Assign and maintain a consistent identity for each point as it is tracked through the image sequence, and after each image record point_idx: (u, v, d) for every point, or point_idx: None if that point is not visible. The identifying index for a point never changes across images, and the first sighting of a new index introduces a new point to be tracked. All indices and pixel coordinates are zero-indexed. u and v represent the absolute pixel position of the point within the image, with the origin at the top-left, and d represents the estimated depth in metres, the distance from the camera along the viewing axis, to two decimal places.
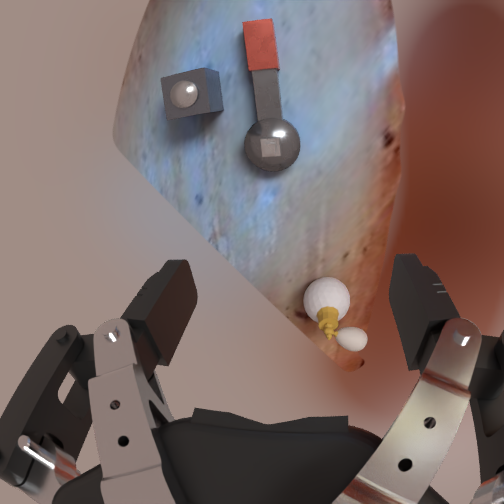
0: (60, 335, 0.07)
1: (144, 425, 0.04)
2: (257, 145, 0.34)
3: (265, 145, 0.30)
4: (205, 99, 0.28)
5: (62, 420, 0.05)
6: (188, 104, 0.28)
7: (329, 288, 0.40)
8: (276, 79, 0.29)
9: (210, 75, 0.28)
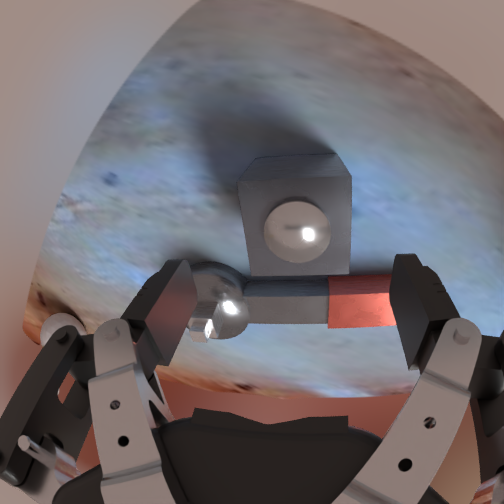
0: (60, 334, 0.07)
1: (144, 425, 0.04)
2: (204, 294, 0.23)
3: (201, 333, 0.21)
4: (279, 270, 0.16)
5: (62, 420, 0.05)
6: (270, 241, 0.14)
7: None
8: (309, 322, 0.23)
9: None
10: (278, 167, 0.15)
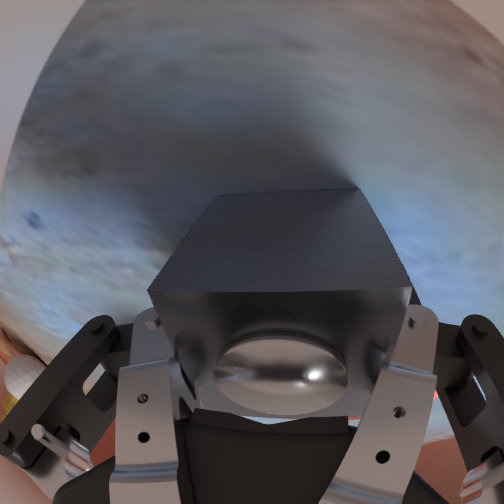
0: (95, 325, 0.07)
1: (169, 425, 0.04)
2: None
3: None
4: (249, 412, 0.08)
5: (83, 412, 0.06)
6: (228, 390, 0.07)
7: None
8: None
9: None
10: (248, 233, 0.08)
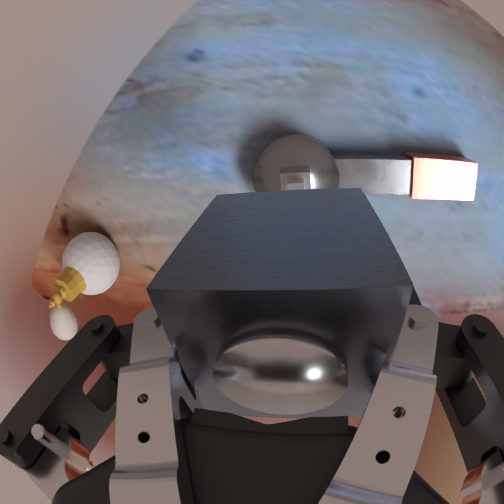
0: (95, 325, 0.07)
1: (169, 425, 0.04)
2: (295, 157, 0.21)
3: (301, 185, 0.19)
4: (249, 411, 0.08)
5: (83, 412, 0.06)
6: (228, 390, 0.07)
7: (105, 271, 0.27)
8: (395, 192, 0.21)
9: None
10: (247, 232, 0.08)
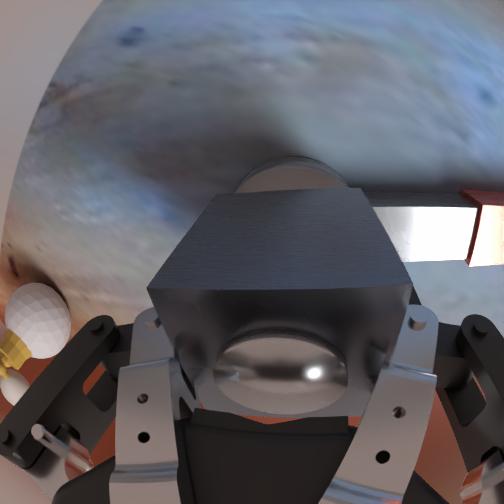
0: (95, 325, 0.07)
1: (169, 425, 0.04)
2: None
3: None
4: (249, 411, 0.08)
5: (83, 412, 0.06)
6: (228, 389, 0.07)
7: (49, 337, 0.19)
8: (447, 257, 0.12)
9: None
10: (247, 232, 0.08)
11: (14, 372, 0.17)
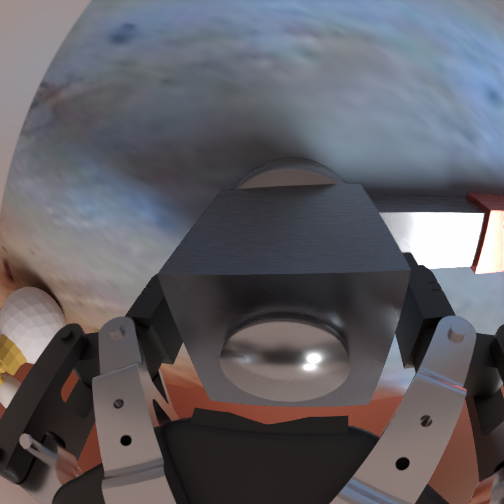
0: (65, 333, 0.07)
1: (147, 425, 0.04)
2: None
3: None
4: (253, 400, 0.08)
5: (65, 419, 0.05)
6: (233, 376, 0.07)
7: (43, 342, 0.18)
8: (453, 264, 0.11)
9: None
10: (253, 223, 0.08)
11: (9, 377, 0.16)
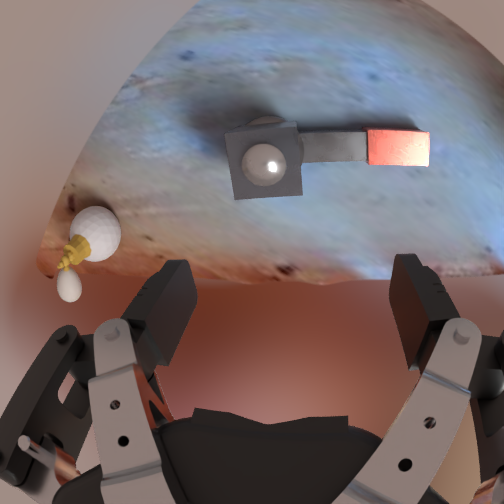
0: (60, 335, 0.07)
1: (144, 425, 0.04)
2: None
3: None
4: (253, 194, 0.23)
5: (62, 420, 0.05)
6: (246, 171, 0.21)
7: (108, 237, 0.32)
8: (353, 159, 0.26)
9: None
10: (252, 127, 0.22)
11: (72, 269, 0.30)
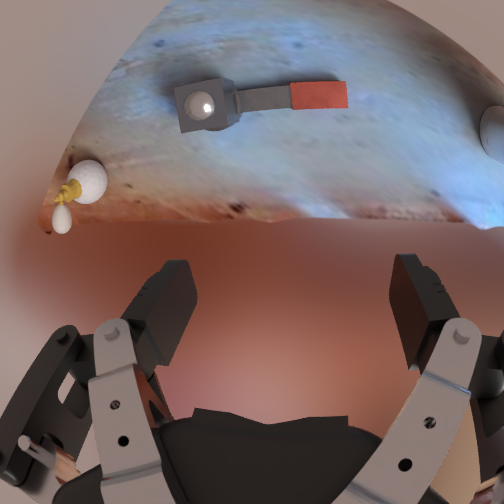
0: (60, 335, 0.07)
1: (144, 425, 0.04)
2: None
3: None
4: (193, 127, 0.29)
5: (62, 420, 0.05)
6: (187, 111, 0.27)
7: (96, 181, 0.38)
8: (280, 107, 0.32)
9: None
10: None
11: None
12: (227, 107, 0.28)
